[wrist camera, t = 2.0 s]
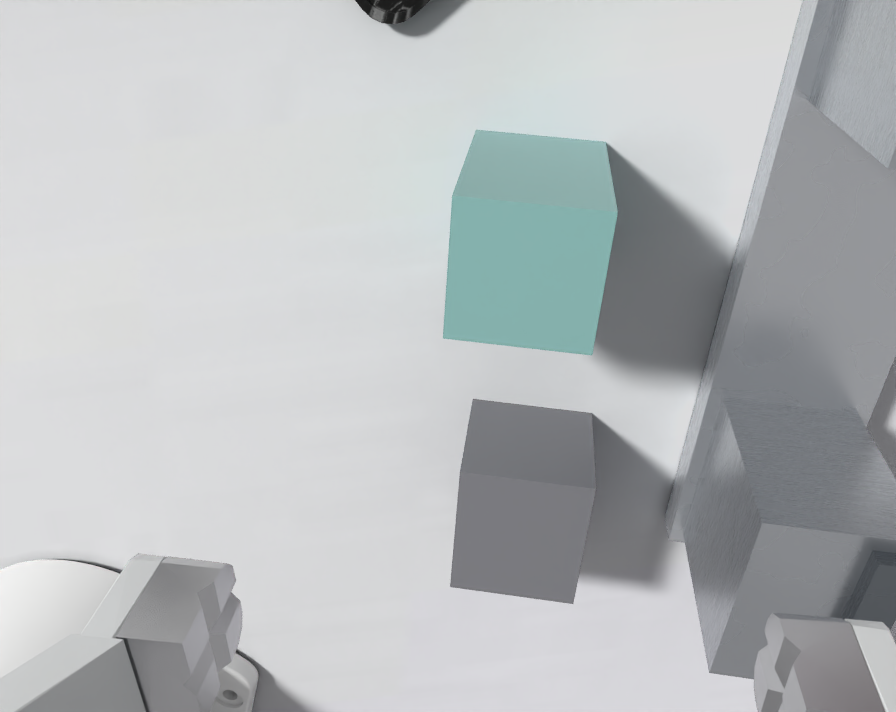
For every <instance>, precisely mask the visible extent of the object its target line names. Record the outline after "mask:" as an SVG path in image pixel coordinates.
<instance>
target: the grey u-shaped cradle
mask: <svg viewBox="0 0 896 712" xmlns="http://www.w3.org/2000/svg"><path fill="white" fill-rule="evenodd" d="M895 357H896V0H803V3H802V7H801V10H800V14H799V18H798V22H797V25H796V29H795V33H794V37H793V40H792V44H791V48H790V52H789V55H788V59H787V63H786V66H785V70H784V74H783V78H782V81H781V85H780V89H779V93H778V96H777V100H776V104H775V108H774V111H773V115H772V119H771V122H770V126H769V130H768V134H767V137H766V141H765V145H764V149H763V152H762V156H761V160H760V164H759V167H758V171H757V175H756V179H755V182H754V186H753V190H752V193H751V197H750V201H749V205H748V208H747V212H746V216H745V220H744V223H743V227H742V231H741V235H740V238H739V242H738V246H737V250H736V253H735V257H734V261H733V264H732V268H731V272H730V276H729V279H728V283H727V287H726V291H725V294H724V298H723V302H722V306H721V309H720V313H719V317H718V321H717V324H716V328H715V332H714V335H713V339H712V343H711V347H710V350H709V354H708V358H707V362H706V365H705V369H704V373H703V377H702V380H701V384H700V388H699V391H698V395H697V399H696V403H695V406H694V410H693V414H692V418H691V421H690V425H689V429H688V433H687V436H686V440H685V444H684V448H683V451H682V455H681V459H680V462H679V466H678V470H677V474H676V477H675V481H674V485H673V489H672V492H671V496H670V500H669V504H668V507H667V511H666V515H665V520H666V526H667V532H668V538H669V541H677V542H685V546H686V551H687V557H688V562H689V567H690V573H691V578H692V583H693V589H694V594H695V599H696V605H697V610H698V615H699V621H700V626H701V631H702V637H703V642H704V647H705V653H706V658H707V663H708V669H709V673H714V674H721V675H728V676H735V677H742V678H749V679H754V667H755V663H756V659H757V655H758V651H760V650H761V649H763V648H764V647H765V646H767V645H768V642H767V638H766V634H765V631H764V630H765V627H766V624H767V620H768V618H769V617H770V615H771V614H772V613H783V614H796V615H808V616H820V617H833V618H842V619H854V620H865V621H877V622H883V623H884V624H885V625H886V626H887V627H888V628H889V629H891V627H892V625H893V623H894V622H895V620H896V479H895V477H894V475H893V473H892V472H891V470H890V468H889V466H888V464H887V463H886V461H885V459H884V457H883V456H882V454H881V452H880V450H879V449H878V447H877V445H876V443H875V442H874V440H873V438H872V436H871V435H870V433H869V431H868V429H867V425H868V422H869V420H870V418H871V415H872V413H873V410H874V408H875V405H876V403H877V401H878V398H879V396H880V393H881V391H882V388H883V386H884V383H885V381H886V379H887V376H888V374H889V371H890V369H891V366H892V364H893V362H894V359H895Z"/></svg>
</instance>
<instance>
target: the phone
mask: <svg viewBox="0 0 896 712" xmlns="http://www.w3.org/2000/svg"><path fill="white" fill-rule="evenodd" d="M355 1H356V2H357V3H358V4H359V6H360V7H361V8H362V10H363V11H365V12H366V13H367V14H368V15H369V16H370V17H371V18H372V19H375V20H377V21H379V22H381V23H386V24H396V23H401V22H404V21H406V20H407V19H409V18H410V17H412V16H413V15H415V14H416V13H417V12H418V11H419V10H420V9H421V8H422V7H423V6H425V5H426V4H427V3H428V2H429V1H430V0H355Z"/></svg>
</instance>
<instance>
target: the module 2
mask: <svg viewBox="0 0 896 712" xmlns="http://www.w3.org/2000/svg"><path fill="white" fill-rule="evenodd" d="M595 493H596V475H595V458H594V440H593V423H592V413H586V412H577V411H569V410H561V409H552V408H544V407H536V406H527V405H519V404H510V403H502V402H494V401H485V400H477V399H473V402H472V407H471V413H470V419H469V424H468V430H467V436H466V441H465V447H464V453H463V458H462V464H461V470H460V479H459V491H458V502H457V514H456V525H455V537H454V549H453V560H452V572H451V584H450V587H455V588H462V589H469V590H476V591H484V592H491V593H498V594H505V595H513V596H520V597H527V598H534V599H542V600H549V601H556V602H563V603H571V604H573V602H574V597H575V592H576V587H577V582H578V577H579V572H580V567H581V562H582V557H583V552H584V548H585V543H586V538H587V533H588V528H589V523H590V518H591V513H592V508H593V503H594V498H595Z"/></svg>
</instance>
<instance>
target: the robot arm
mask: <svg viewBox="0 0 896 712" xmlns="http://www.w3.org/2000/svg"><path fill="white" fill-rule="evenodd" d="M235 582H236V578H235V574H234V570H233V566H232V565H230V564H227V563H219V562H211V561H202V560H194V559H186V558H177V557H169V556H168V557H165V556H156V555H147V554H137V555H136V556H134V557H133V558H131V559H130V560H129V561H128V563H127V564H126V566H125V567H124V569H123V570H122V572H121V573H120V574H119V573H116V572H114V571H111V570H108V569H105V568H102V567H98V566H94V565H90V564H85V563H80V562H74V561H66V560H32V561H25V562H20V563H17V564H13V565H10V566H8V567H5V568H3V569H1V570H0V712H252V707H253V702H254V698H255V693H256V688H257V683H258V678H259V675H258V671H257V669H256V668H255V667H254V666H253V665H252V664H251V663H250V662H249V661H247V660H246V659H245V658H243V657H241V656H240V655H238V654H236V653H235V652H236V650H237V647H238V644H239V639H240V634H241V630H242V608H241V602H240V600H239V599H238V598H237V597H236V596H235V595H234V594H233V593H232V592H231V591H232V589H233V586H234V584H235ZM764 631H765V634H766V638H767V642H768V645H767V646H765V647H764V648H763V649H761V650H760V651H758V655H757V659H756V663H755V667H754V693H755V701H756V706H757V710H758V712H896V643H895V641H894V638H893V636H892V634H891V632H890V629H889V628H888V627H887V626H886V625H885V624H884V623H883V622H877V621H865V620H854V619H842V618H833V617H820V616H808V615H796V614H783V613H772V614H771V615H770V617H769V618H768V620H767V624H766V627H765V630H764Z"/></svg>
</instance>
